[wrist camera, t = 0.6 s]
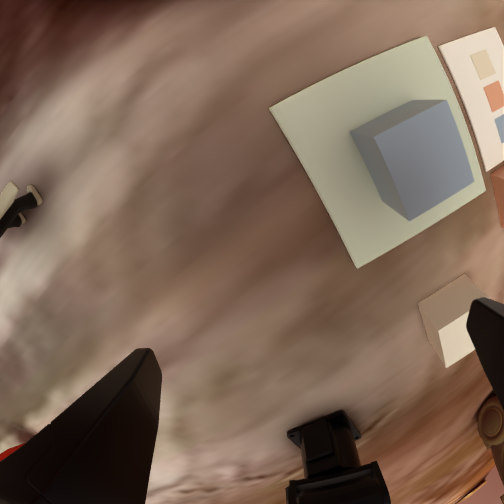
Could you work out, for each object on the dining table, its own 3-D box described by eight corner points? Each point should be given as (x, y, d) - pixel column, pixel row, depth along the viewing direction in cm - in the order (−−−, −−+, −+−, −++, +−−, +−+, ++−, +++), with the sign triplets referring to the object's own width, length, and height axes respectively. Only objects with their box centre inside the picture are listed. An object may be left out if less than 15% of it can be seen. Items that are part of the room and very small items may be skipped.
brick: (470, 312, 25) (491, 337, 21) (427, 339, 26) (446, 368, 22) (463, 272, 23) (489, 296, 19) (416, 302, 24) (438, 330, 20)
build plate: (479, 187, 20) (485, 190, 19) (353, 263, 22) (357, 268, 22) (420, 37, 16) (426, 35, 15) (268, 108, 18) (269, 108, 17)
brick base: (440, 168, 19) (474, 181, 15) (382, 201, 20) (409, 221, 16) (412, 99, 17) (446, 99, 13) (349, 131, 18) (373, 136, 14)
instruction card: (532, 139, 18) (534, 140, 18) (485, 171, 19) (487, 172, 19) (493, 27, 14) (495, 26, 14) (437, 46, 16) (439, 46, 16)
